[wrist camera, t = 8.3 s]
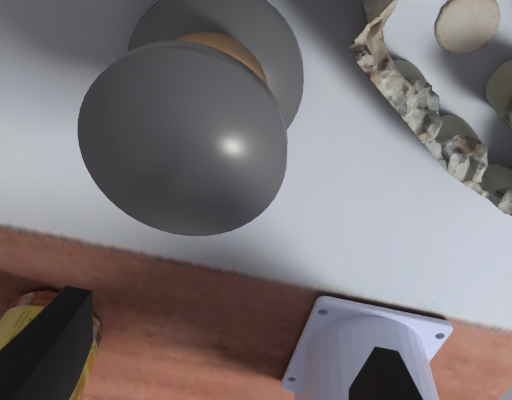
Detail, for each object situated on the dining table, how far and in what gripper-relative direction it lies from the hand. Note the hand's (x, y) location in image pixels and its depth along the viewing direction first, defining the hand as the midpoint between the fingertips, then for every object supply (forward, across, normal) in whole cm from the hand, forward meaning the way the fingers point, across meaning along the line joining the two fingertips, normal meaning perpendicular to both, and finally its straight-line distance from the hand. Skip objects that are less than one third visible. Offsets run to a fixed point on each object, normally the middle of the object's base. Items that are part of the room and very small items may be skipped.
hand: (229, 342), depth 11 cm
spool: (+10, +2, -3) cm, 11 cm away
